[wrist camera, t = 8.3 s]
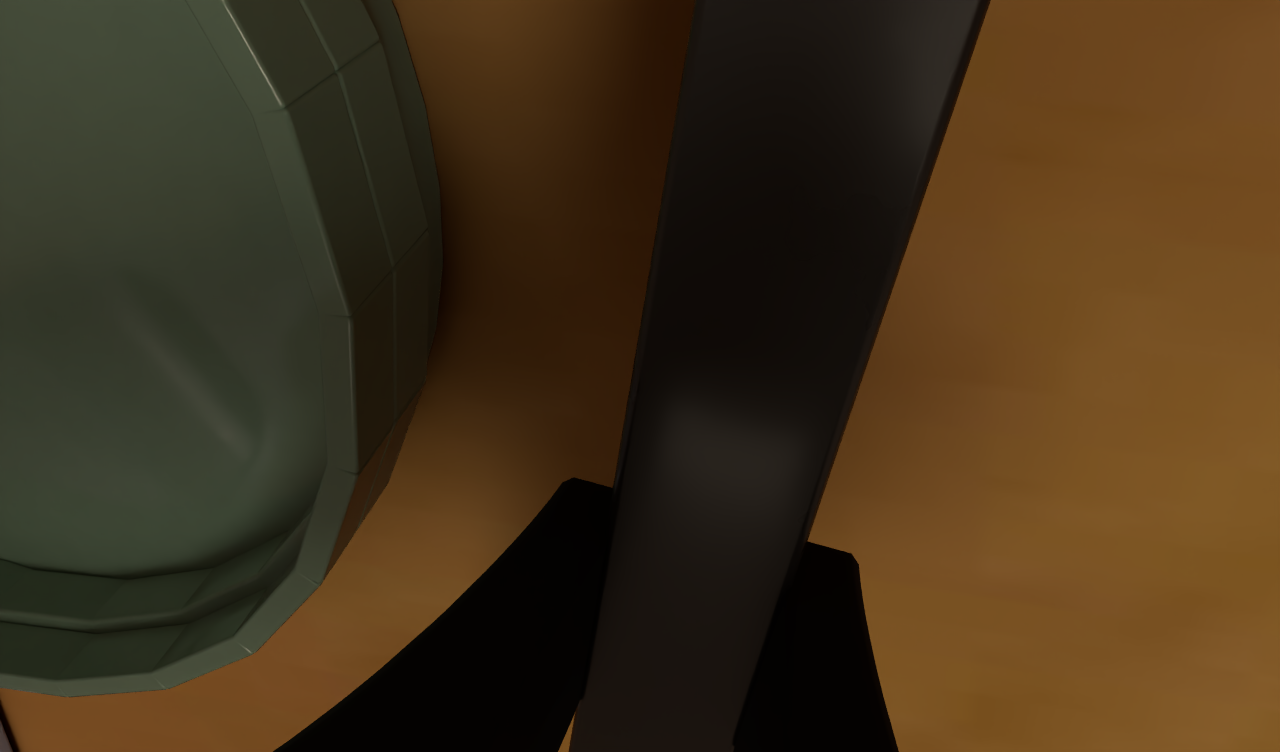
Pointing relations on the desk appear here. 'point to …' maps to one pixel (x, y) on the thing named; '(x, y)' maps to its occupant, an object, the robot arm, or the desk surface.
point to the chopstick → (756, 339)
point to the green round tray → (199, 321)
